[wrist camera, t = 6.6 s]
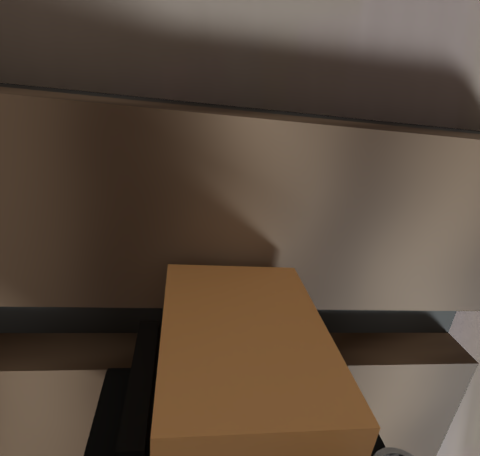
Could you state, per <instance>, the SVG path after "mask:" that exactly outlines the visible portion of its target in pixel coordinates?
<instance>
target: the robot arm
mask: <svg viewBox="0 0 480 456" xmlns="http://www.w3.org/2000/svg"><path fill="white" fill-rule="evenodd" d="M161 327H162V325H159V320H140V323H139V328H138V334H137V339H136V344H135V349H134V355H133V360H132V365H131V368H108V369H107V371H106V374H105V378H104V382H103V385H102V389H101V393H100V396H99V400H98V404H97V408H96V411H95V415H94V419H93V422H92V426H91V430H90V434H89V437H88V441H87V445H86V448H85V452H84V456H150V437H151V427H152V417H153V407H154V397H155V387H156V377H157V367H158V357H159V347H160V337H161ZM371 456H414V455H412V454H411V453H409V452H407V451H404V450H402V449H398V448H394V447H387V448H386V447H385V445H384V443H383V441H382V439H381V437H380V435H379V434H378V437H377V440H376V443H375V445H374V448H373V451H372V454H371Z"/></svg>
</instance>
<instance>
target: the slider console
mask: <svg viewBox="0 0 480 456" xmlns="http://www.w3.org/2000/svg"><path fill="white" fill-rule="evenodd" d="M168 264H179V265H214V266H248V267H283V268H295V270H296V272H297V274H298V276H299V278H300V279H301V281H302V283H303V285H304V287H305V289H306V291H307V292H308V294H309V296H310V298H311V300H312V302H313V303H314V305H315V307H316V309H317V311H318V313H319V315H320V316H321V318H322V320H323V322H324V324H325V326H326V328H327V329H328V331H329V333H330V335H331V337H332V339H333V340H334V342H335V344H336V346H337V348H338V350H339V352H340V353H341V355H342V357H343V359H344V361H345V363H346V365H347V366H348V368H349V370H350V372H351V374H352V376H353V378H354V379H355V381H356V383H357V385H358V387H359V389H360V390H361V392H362V394H363V396H364V398H365V400H366V402H367V403H368V405H369V407H370V409H371V411H372V413H373V415H374V416H375V418H376V420H377V422H378V424H379V426H380V428H381V429H380V431H379V435H380V437H381V439H382V441H383V443H384V445H385V447H386V448H387V447H394V448H398V449H402V450H404V451H407V452H409V453H411V454H412V455H414V456H436V455H437V453H438V451H439V449H440V447H441V444H442V442H443V440H444V438H445V436H446V434H447V431H448V429H449V427H450V425H451V423H452V420H453V418H454V416H455V414H456V412H457V410H458V407H459V405H460V403H461V401H462V399H463V396H464V394H465V392H466V390H467V388H468V385H469V383H470V381H471V379H472V377H473V375H474V372H475V370H476V368H477V366H478V364H479V363H478V362H477V361H476V360H475V359H474V358H473V357H472V356H471V355H470V354H469V353H468V352H467V351H466V350H465V349H464V348H463V347H462V346H461V345H460V344H459V343H458V342H457V341H456V340H455V339H454V338H453V337H452V336H451V335H450V334H449V333H448V331H449V329H450V326H451V324H452V321H453V319H454V316H455V314H456V311H480V131H472V130H463V129H453V128H443V127H433V126H423V125H413V124H403V123H393V122H383V121H373V120H363V119H353V118H343V117H333V116H323V115H313V114H303V113H293V112H283V111H274V110H264V109H254V108H244V107H234V106H224V105H214V104H204V103H194V102H184V101H174V100H164V99H154V98H144V97H134V96H124V95H114V94H104V93H94V92H85V91H75V90H65V89H55V88H45V87H35V86H25V85H15V84H5V83H0V456H84V452H85V448H86V445H87V441H88V437H89V434H90V430H91V426H92V422H93V419H94V415H95V411H96V408H97V404H98V400H99V396H100V393H101V389H102V385H103V382H104V378H105V374H106V371H107V369H108V368H131V365H132V360H133V355H134V349H135V344H136V339H137V334H138V328H139V323H140V320H159V325H162V317H163V307H164V297H165V287H166V278H167V268H168Z"/></svg>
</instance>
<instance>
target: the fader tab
mask: <svg viewBox="0 0 480 456" xmlns="http://www.w3.org/2000/svg"><path fill="white" fill-rule="evenodd" d="M380 429H381V428H380V426H379V424H378V422H377V420H376V418H375V416H374V415H373V413H372V411H371V409H370V407H369V405H368V403H367V402H366V400H365V398H364V396H363V394H362V392H361V390H360V389H359V387H358V385H357V383H356V381H355V379H354V378H353V376H352V374H351V372H350V370H349V368H348V366H347V365H346V363H345V361H344V359H343V357H342V355H341V353H340V352H339V350H338V348H337V346H336V344H335V342H334V340H333V339H332V337H331V335H330V333H329V331H328V329H327V328H326V326H325V324H324V322H323V320H322V318H321V316H320V315H319V313H318V311H317V309H316V307H315V305H314V303H313V302H312V300H311V298H310V296H309V294H308V292H307V291H306V289H305V287H304V285H303V283H302V281H301V279H300V278H299V276H298V274H297V272H296V270H295V268H283V267H248V266H214V265H179V264H168V268H167V278H166V287H165V297H164V307H163V317H162V327H161V337H160V347H159V357H158V367H157V377H156V387H155V397H154V407H153V417H152V427H151V437H150V456H371V454H372V451H373V448H374V445H375V443H376V440H377V437H378V434H379V431H380Z"/></svg>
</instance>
